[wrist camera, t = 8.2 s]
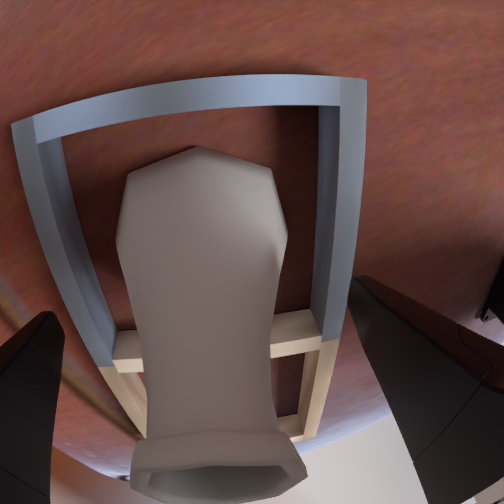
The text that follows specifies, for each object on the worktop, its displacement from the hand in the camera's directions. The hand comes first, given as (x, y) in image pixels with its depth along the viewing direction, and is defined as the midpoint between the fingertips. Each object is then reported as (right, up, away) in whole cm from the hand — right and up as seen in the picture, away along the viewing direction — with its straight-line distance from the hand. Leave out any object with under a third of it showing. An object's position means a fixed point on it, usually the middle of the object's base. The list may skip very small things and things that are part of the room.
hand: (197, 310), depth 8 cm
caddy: (0, -2, +7) cm, 7 cm away
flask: (-1, +3, +4) cm, 5 cm away
